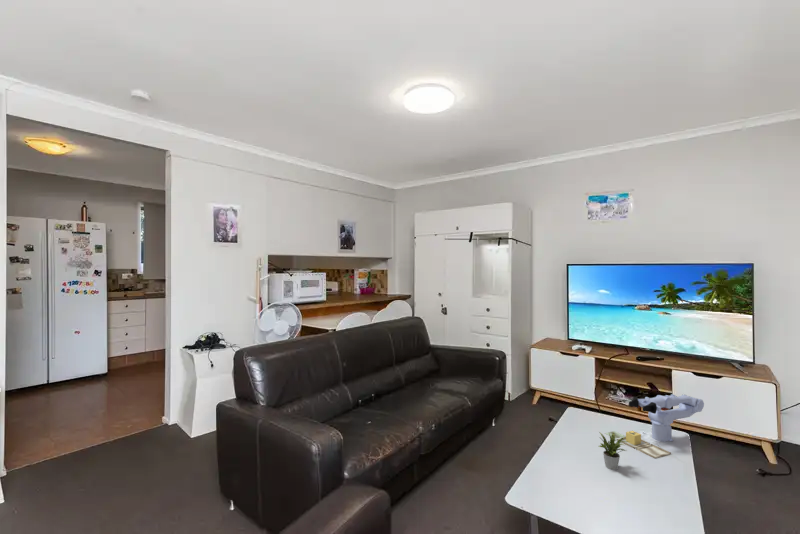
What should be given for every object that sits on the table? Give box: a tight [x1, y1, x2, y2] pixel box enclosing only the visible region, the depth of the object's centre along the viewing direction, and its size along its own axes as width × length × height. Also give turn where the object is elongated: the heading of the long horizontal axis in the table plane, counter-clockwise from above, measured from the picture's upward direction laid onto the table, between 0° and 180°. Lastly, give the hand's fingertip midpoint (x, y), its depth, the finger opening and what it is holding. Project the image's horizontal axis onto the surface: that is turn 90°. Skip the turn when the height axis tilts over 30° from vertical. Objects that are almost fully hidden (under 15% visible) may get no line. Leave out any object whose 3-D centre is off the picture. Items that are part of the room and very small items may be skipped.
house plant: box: [598, 431, 628, 471], centre depth 185 cm, size 14×14×16 cm
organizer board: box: [604, 430, 672, 459], centre depth 209 cm, size 13×31×1 cm, turn 22°
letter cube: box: [625, 430, 642, 445], centre depth 210 cm, size 5×5×5 cm
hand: (636, 406), depth 207 cm, fingers open, 7 cm apart
